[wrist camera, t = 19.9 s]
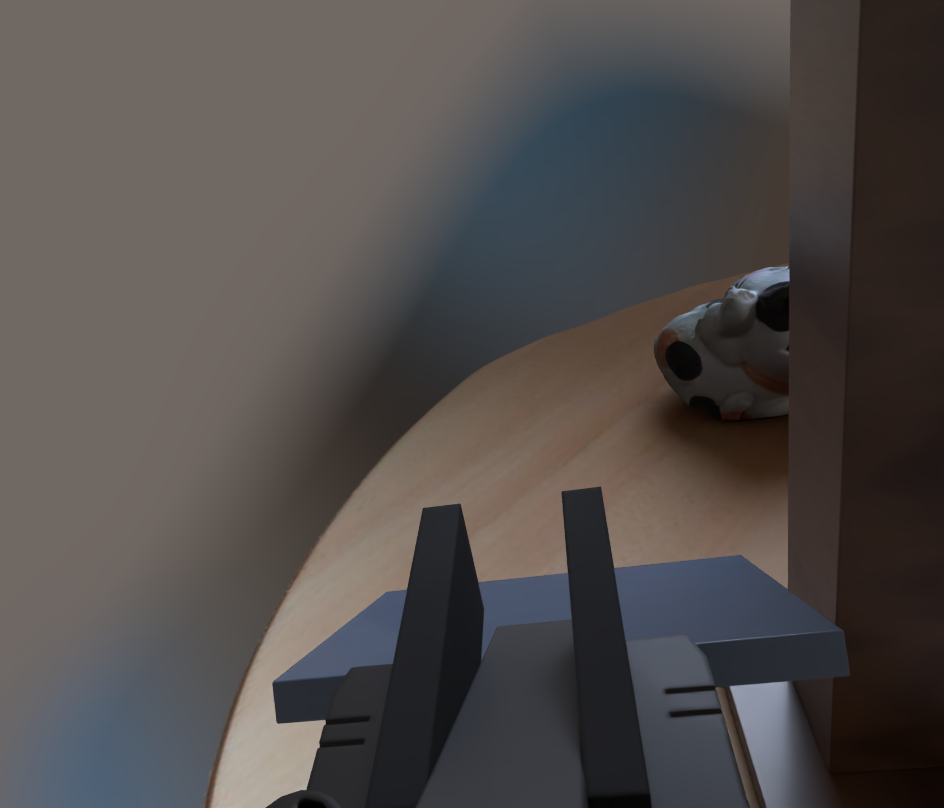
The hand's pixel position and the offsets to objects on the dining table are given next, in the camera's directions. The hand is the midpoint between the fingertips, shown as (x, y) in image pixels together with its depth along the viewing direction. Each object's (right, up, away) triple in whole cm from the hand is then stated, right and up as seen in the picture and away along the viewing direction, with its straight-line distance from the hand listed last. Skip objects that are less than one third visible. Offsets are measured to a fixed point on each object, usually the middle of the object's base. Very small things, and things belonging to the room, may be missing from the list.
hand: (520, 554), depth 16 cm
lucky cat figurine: (+23, +4, +50) cm, 55 cm away
